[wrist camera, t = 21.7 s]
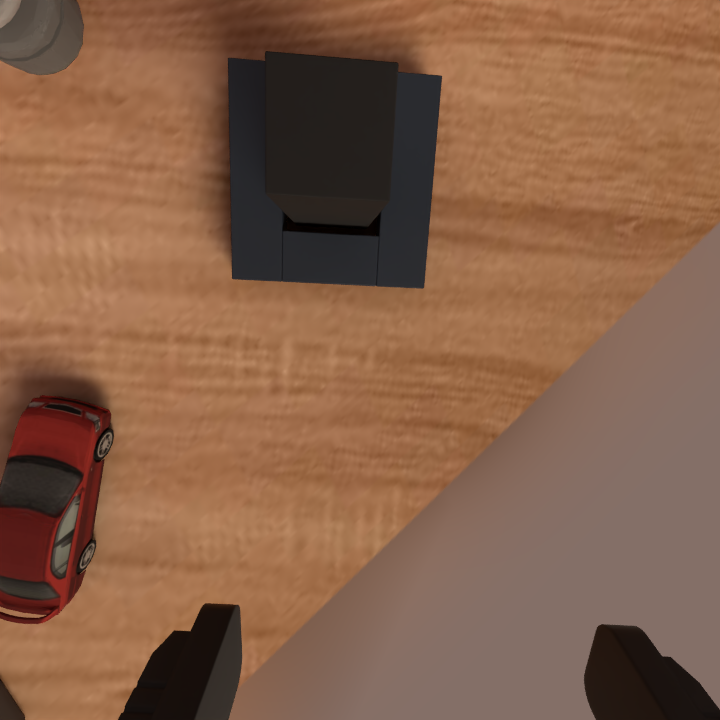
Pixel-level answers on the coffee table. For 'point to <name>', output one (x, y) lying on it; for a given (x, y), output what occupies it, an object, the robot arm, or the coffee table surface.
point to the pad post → (329, 137)
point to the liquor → (8, 706)
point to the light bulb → (40, 34)
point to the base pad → (330, 250)
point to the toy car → (50, 504)
